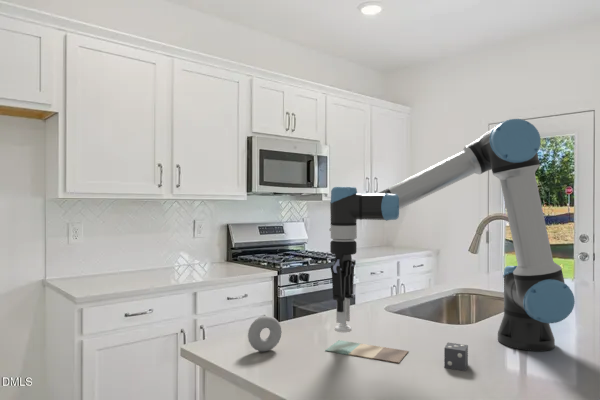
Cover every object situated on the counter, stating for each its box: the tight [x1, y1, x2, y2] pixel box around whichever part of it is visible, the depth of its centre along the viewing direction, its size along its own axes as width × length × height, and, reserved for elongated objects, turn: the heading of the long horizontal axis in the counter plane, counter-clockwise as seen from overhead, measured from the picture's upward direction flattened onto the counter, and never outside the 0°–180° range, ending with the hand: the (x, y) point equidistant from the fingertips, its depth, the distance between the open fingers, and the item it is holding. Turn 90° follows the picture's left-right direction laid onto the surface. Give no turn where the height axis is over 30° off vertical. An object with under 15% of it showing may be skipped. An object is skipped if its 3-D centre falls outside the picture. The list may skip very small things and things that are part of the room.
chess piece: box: [334, 298, 352, 333], centre depth 128 cm, size 5×5×10 cm
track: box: [325, 339, 409, 364], centre depth 125 cm, size 21×10×1 cm, turn 62°
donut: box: [247, 315, 282, 353], centre depth 125 cm, size 10×4×10 cm, turn 118°
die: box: [443, 342, 469, 372], centre depth 113 cm, size 5×5×5 cm
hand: (343, 321), depth 128 cm, fingers closed on chess piece, 2 cm apart
